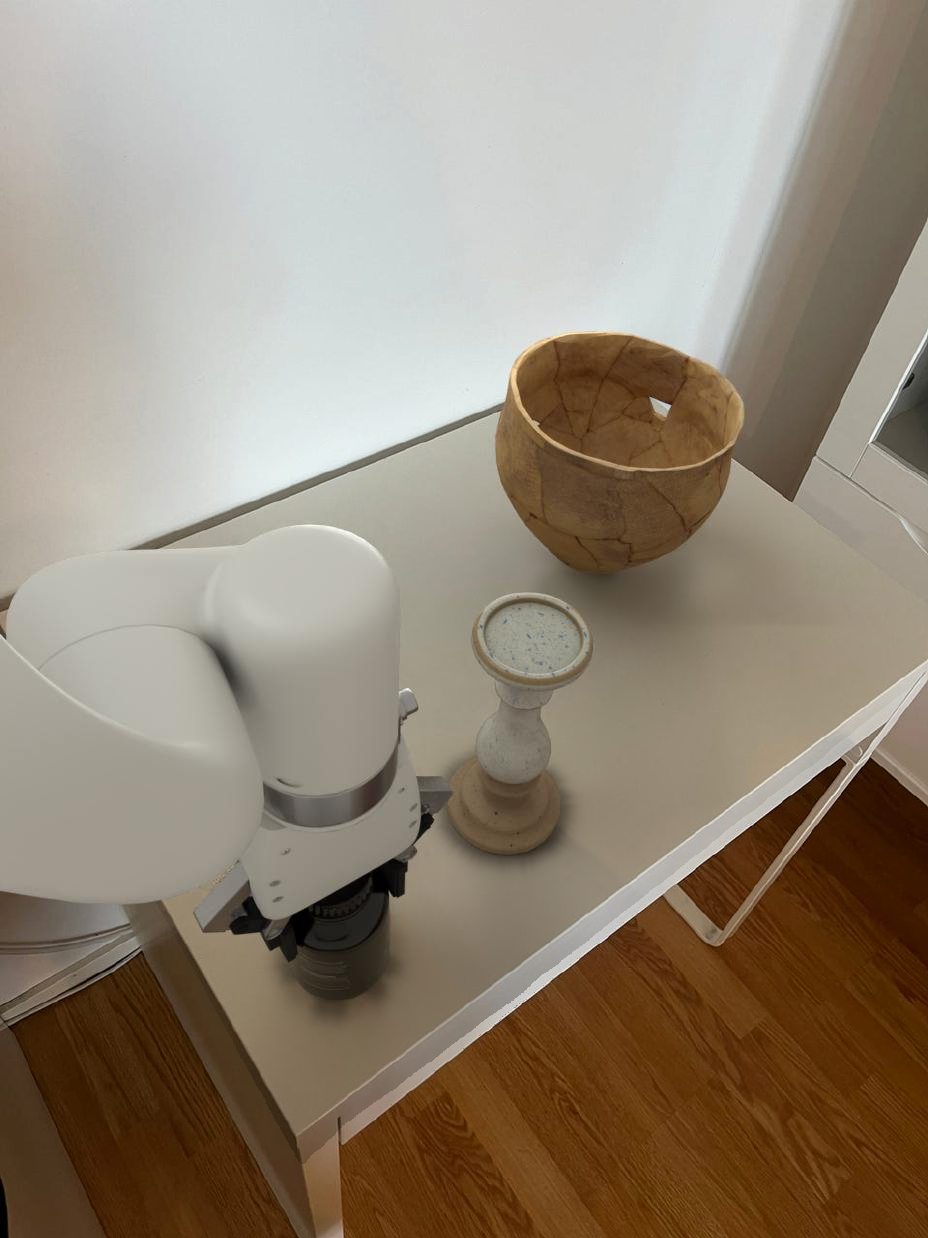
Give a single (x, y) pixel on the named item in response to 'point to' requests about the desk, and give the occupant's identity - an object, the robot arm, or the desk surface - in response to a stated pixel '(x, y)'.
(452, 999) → the desk surface
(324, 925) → the supplement bottle
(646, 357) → the bowl
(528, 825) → the candle holder
